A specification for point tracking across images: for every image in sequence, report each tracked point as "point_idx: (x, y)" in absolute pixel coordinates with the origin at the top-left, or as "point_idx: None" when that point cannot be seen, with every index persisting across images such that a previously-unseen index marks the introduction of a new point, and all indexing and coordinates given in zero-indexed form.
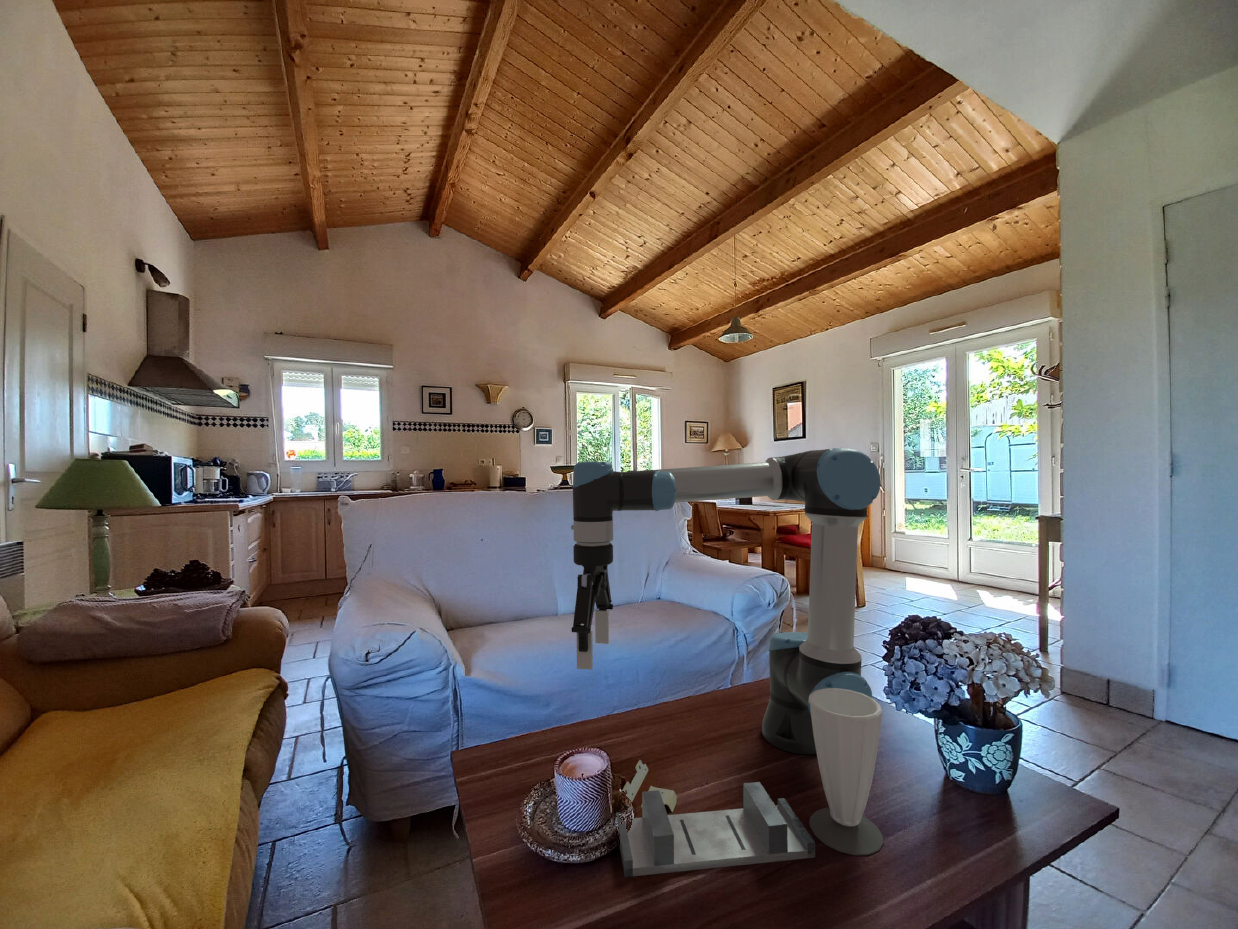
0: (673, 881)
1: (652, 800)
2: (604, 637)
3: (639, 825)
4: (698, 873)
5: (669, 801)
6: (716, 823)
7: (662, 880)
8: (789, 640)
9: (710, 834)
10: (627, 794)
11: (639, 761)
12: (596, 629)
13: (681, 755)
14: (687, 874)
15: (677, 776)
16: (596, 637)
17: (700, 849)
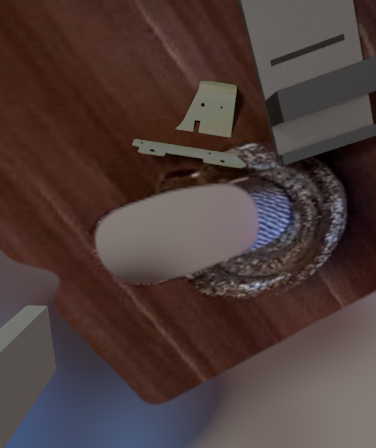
0: None
1: (306, 99)
2: (29, 350)
3: (290, 128)
4: None
5: (227, 88)
6: (272, 1)
7: None
8: None
9: (299, 11)
10: (222, 159)
11: (143, 151)
12: (4, 439)
13: (77, 85)
14: None
15: (142, 86)
16: (38, 390)
17: (333, 26)
